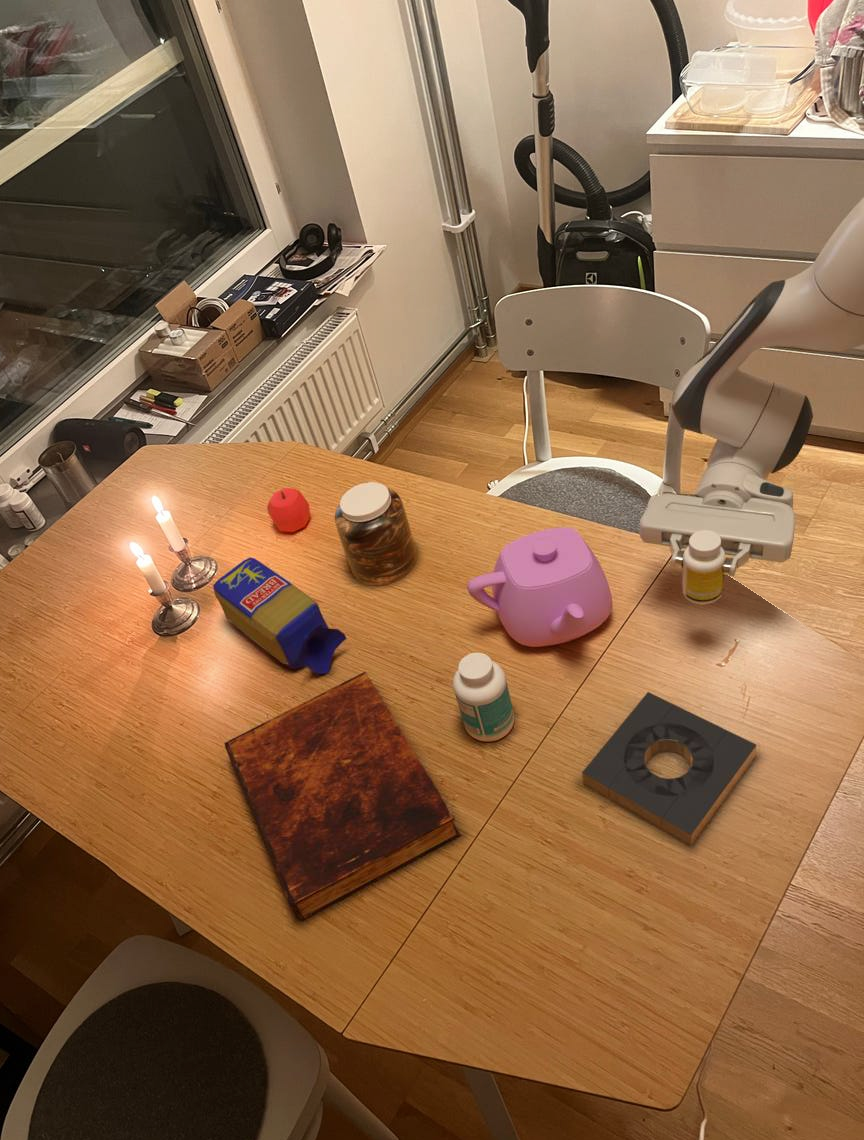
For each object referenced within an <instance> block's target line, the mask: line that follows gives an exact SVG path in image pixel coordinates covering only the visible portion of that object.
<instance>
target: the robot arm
mask: <svg viewBox="0 0 864 1140" xmlns="http://www.w3.org/2000/svg"><path fill="white" fill-rule="evenodd" d="M861 346H864V197H862V198H861V199H860V200H859V202H858V203H857V204H856V205H855V206H854V207H853V208H852V209H851V210H850V211H849V213H848V214H847V215H846V216H845V217H844V218H843V220H842V221H841V222H840V224H839V225H838V226H837V227H836V229H835V230H834V231H833V233H832V234H831V236H830V237H829V239H828V240H827V242H826V243H825V244H824V246H823V247H822V249H821V251H820V252H819V254H818V255H817V257H816V258H815V260H814V261H813V263H811V265H810V266H809V267H807V268H806V269H804V270H803V271H801V272H799V273H798V274H796V275H794V276H792V277H789V278H787V279H782V280H776V281H772V282H770V283H769V284H768V285H766V286H765V287H764V288H762V290H761V291H760V292H759V293H758V294H756V295H755V297H754V298H752V300H751V301H750V302H749V303H748V304H747V306H746V307H745V308H744V309H743V310H742V311H741V312H740V313H739V314H738V316H737V317H736V318H735V319H734V320H733V322H732V323H731V324H730V325H729V326H728V327H727V328H726V329H725V331H724V332H723V333H722V334H721V336H720V337H719V338H718V339H717V340H716V342H714V344H713V345H712V346H711V348H710V349H709V350H708V351H707V352H706V353H705V354H704V355H702V357H700V358H699V360H697V361H696V363H694V365H693V366H692V367H690V368H689V369H688V371H686V373H685V374H684V375H683V376H682V378H680V381H679V383H678V385H677V386H676V388H675V391H674V394H673V397H672V403H671V410H672V413H673V415H674V417H675V420H676V421H677V423H678V425H679V426H680V428H681V429H683V430H686V431H689V432H693V433H695V434H699V435H705V436H706V437H707V436H708V437H709V438H712V439H714V440H716V441H715V443H714V444H713V446H712V449H711V451H710V453H709V456H708V458H707V464H706V469H704V471H703V472H702V474H701V476H700V479H699V482H698V484H697V487H696V489H695V492H694V494H689V493H675V492H671V491H662V493H657V494H653V495H651V496H650V498H649V500H648V502H647V505H646V509H645V510H644V511H643V514H642V516H641V518H640V519H639V522H638V533H639V538H640V539H641V541H642V542H643V543H645V544H649V545H650V544H651V545H657V546H665V547H669V551H670V553H671V559H670V560H671V561H670V565H671V566H670V567H671V568H679V569H683V554H684V551H685V550H686V548H687V547H688V546H689V539H690V537H691V536H692V535H693V534H694V533H696V532H698V531H702V530H709V531H713V532H715V533H717V534H718V535H719V536H720V538H721V547H722V548H723V550H724V552H725V556H733V557H725V563H724V565H723V575H724V576H729V577H735V575H736V572H737V569H740V567H742V566H744V565H745V564H747V563H748V562H749V559H752V560H753V559H754V560H759V561H766V562H772V563H773V562H774V563H781V564H782V563H784V562H787V561H789V560H790V559H791V556H792V553H793V552H792V551H793V545H794V537H795V531H796V514H795V511H794V492H793V490H792V489H790V488H788V487H785V486H781V485H779V484H776V483H773V482H770V481H768V478H769V476H770V474H775V473H777V472H779V471H781V470H783V469H785V468H786V467H788V466H789V465H791V464H792V463H793V462H794V461H795V459H796V458H797V457H798V456H799V454H800V452H801V451H802V449H803V447H804V445H805V442H806V441H807V437H808V434H809V431H810V428H811V425H812V421H813V418H814V414H813V413H814V412H813V409H812V405H811V401H810V399H809V397H808V395H806V394H804V393H802V392H799V391H797V390H794V389H792V388H790V387H788V386H785V385H782V384H780V383H777V382H773V381H770V380H768V379H766V378H763V377H760V376H758V375H755V374H752V373H750V372H748V371H746V370H745V371H744V370H742V369H740V367H741V366H742V365H743V363H744V362H746V361H747V359H748V358H749V357H750V356H751V355H752V354H753V353H754V352H756V351H758V350H760V349H764V348H770V347H785V348H799V349H806V350H813V351H820V352H841V351H847V350H852V349H856V348H859V347H861ZM682 549H684V550H682Z"/></svg>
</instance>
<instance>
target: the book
mask: <svg viewBox="0 0 864 1140" xmlns="http://www.w3.org/2000/svg"><path fill="white" fill-rule="evenodd" d="M224 749H225V750H226V753H227V756H228V758H229V760H230V763H231V765H232V768H233V770H234V772H235V776H236V777H237V780H238V783H239V784H240V787H241V790H242V791H243V795H244V797H245V799H246V801H247V804H248V806H249V809H250V811H251V815H252V816H253V819H254V821H255V824H256V826H257V829H258V831H259V833H260V836H261V839H262V841H263V844H264V845H265V848H266V850H267V853H268V855H269V858H270V860H271V863H272V865H273V867H274V870H275V872H276V875H277V878H278V880H279V882H280V885H281V888H282V889H283V892H284V894H285V897H286V899H287V901H288V904H289V906H290V907H291V909H292V911H293V912H294V913H295V915H296V916H297V918H298V919H299V920H300V921H302V922H304V921H305V920H308V919H310V918H312V917H313V916H315V915H317V914H320V913H321V912H323V911H324V910H327V909H328V908H331V907H332V906H333V905H336V904H337V903H340V902H342V901H343V900H345V899H348V898H349V897H350V896H353V895H355V894H357V893H358V892H360V891H363V890H364V889H366V888H367V887H369V886H371V885H373V884H375V883H376V882H379V881H380V880H382V879H384V878H386V877H388V876H390V875H391V874H393V873H396V872H397V871H399V870H401V869H403V868H405V867H407V866H409V865H410V864H412V863H414V862H416V861H418V860H419V859H422V858H423V857H425V856H427V855H429V854H431V853H433V852H434V851H436V850H438V849H440V848H442V847H444V846H445V845H447V844H449V843H451V842H453V841H455V840H457V839H458V838H460V837H462V833H461V832H460V830H459V828H458V827H457V825H456V823H455V822H454V820H456V818H455V816H454V814H453V812H452V811H451V809H450V808H449V806H448V805H447V803H446V801H445V800H444V798H443V797H442V795H441V793H440V791H439V790H438V788H437V786H436V785H435V783H434V781H433V779H432V778H431V777H430V775H429V773H428V771H427V770H426V768H425V767H424V764H423V763H422V762H421V760H420V758H419V757H418V755H417V753H416V752H415V750H414V748H413V747H412V745H411V744H410V742H409V741H408V738H407V737H406V736H405V734H404V731H403V730H402V729H401V727H400V725H399V724H398V722H397V720H396V719H395V717H394V715H393V714H392V712H391V710H390V709H389V708H388V705H387V704H386V702H385V700H383V698H382V695H381V694H380V693H379V691H378V689H377V687H376V686H375V684H374V682H373V681H372V679H371V678H370V676H369V675H368V673H367V671H363V672H362V673H360V674H357V675H356V676H353V677H352V678H350V679H347V680H345V681H344V682H342V683H339V684H338V685H336V686H333V687H332V688H330V689H327V690H326V691H324V692H322V693H320V694H317V695H316V696H314V697H312V698H310V699H308V700H306V701H304V702H302V703H300V704H298V705H297V706H294V707H292V708H290V709H288V710H287V711H284V712H283V713H280V714H279V715H277V716H275V717H272V718H270V719H269V720H267V721H264V722H263V723H261V724H258V725H257V726H255V727H253V728H251V729H249V730H247V731H245V732H242V733H241V734H239V735H237V736H235V737H233V738H231V739H229V740H227V741H225V742H224Z"/></svg>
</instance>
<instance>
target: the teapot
mask: <svg viewBox="0 0 864 1140" xmlns="http://www.w3.org/2000/svg"><path fill="white" fill-rule="evenodd" d="M605 574H606V573H605V571H604V570H603V567H602V565H601V563H600V561H599V559H598V558H597V556H596V555H595V553H594V552H593V550H592V549H591V548H590V546H589V544H588V543H587V542H586V541H585V539H584V538H583V537H582V536H581V534H580V533H579V532H578V531H577V530H576V529H575V528H573V527H568V526H567V527H566V526H561V527H552V528H547V529H542V530H538V531H535V532H531V533H529V534H526V535H523V536H521V537H519V538H516V539H514V540H512V541H511V542H510V543H507V544H506V545H505V546H503V548H502V550H500V553H499V554H498V558H497V560H496V562H495V565H494V569H493V572H489V573H484V574H480V575H478V576H475V577H473V578H471V579H470V580H469V581H468V582H467V584H466V585H467V586H466V589H467V592H468V594H469V595H470V597H472V599H474V600H475V601H476V602H477V603H479V604H481V605H483V606H484V607H486V608H488V609H490V610H492V611H495V612H496V614H497V617H498V619H499V621H500V623H501V624H502V625H503V628H504V629H505V631H506V632H507V634H508V636H510V637H511V638H512V639H513V640H514V641H515V642H516V643H518V644H520V645H521V646H525V647H532V648H537V647H538V648H540V647H548V646H555V645H559V644H560V645H561V644H564V643H568V642H571V641H573V640H575V639H579V638H580V637H583V636H585V635H587V634H589V633H591V632H592V631H595V630H596V629H597V628H599V627H600V626H601V625H602V624H603V623H604V622H606V620H607V619H608V617H609V616H610V615H611V612H612V609H613V597H612V593H611V589H610V586H609V581H608V579H607V577H606V575H605ZM488 587H491V590H492V591H491V592H492V596H491V595H489V594H488V592H487V591H486V590H485V588H488Z"/></svg>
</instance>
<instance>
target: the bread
mask: <svg viewBox="0 0 864 1140" xmlns="http://www.w3.org/2000/svg"><path fill="white" fill-rule="evenodd" d="M212 587H213V592H214V596H215V598H216V600H217V601H218V603H219V605H220V606H221V609H222V611H223V613H224V616H225V618H226V619H227V620H228V621H229V622H230V623H231V624H233V625H234V626H235V627H236V628H238V629H239V630H240V631H241V632H243V634H245V635H246V636H247V637H248V638H249V639H250V640H252V641H253V642H255V643H256V644H257V645H259V646H260V647H261V648H262V649H264V650H265V651H266V652H267V653H268V654H270V655H271V656H273V657H274V658H275V659H277V660H278V661H279V662H281V663H282V664H283V665H285V666H286V667H288V668H290V669H293V670H295V671H296V670H298V669H302V668H304V667H306V668H308V669H310V670H311V671H313V672H314V673H315V674H321V675H325V674H328V673H331V663H332V658H333V656H334V654H335V652H336V650H337V649H338V648H339V647H340V646H341V645H342V643H343V642H345V641H346V640H347V636H346V634H345V633H344V632H342V631H341V630H339V629H338V628H329V626H328V624H327V622H326V619H324V616H323V614H322V611H321V609H320V605H319V603H318V602H317V601H316V600H314V599H313V597H311V596H310V595H308V594H306V593H305V592H304V591H303V590H301V589H300V588H298V587H297V586H296V585H295V584H294V583H292V582H290V581H289V580H287V579H286V578H284V577H283V576H281V575H280V574H278V572H276V571H274V570H273V569H271V568H270V567H268V566H267V565H265V564H264V563H262V562H261V561H260V560H258V559H256V558H255V557H248V558H246V559H244V560H242V561H241V562H239V563H238V564H237V565H236V566H234V567H233V568H232V569H231V570H229V571H227V573H225V574H224V575H223V576H221V577H220V578H219V579H217V580H216V582H215V583H213V584H212Z"/></svg>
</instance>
